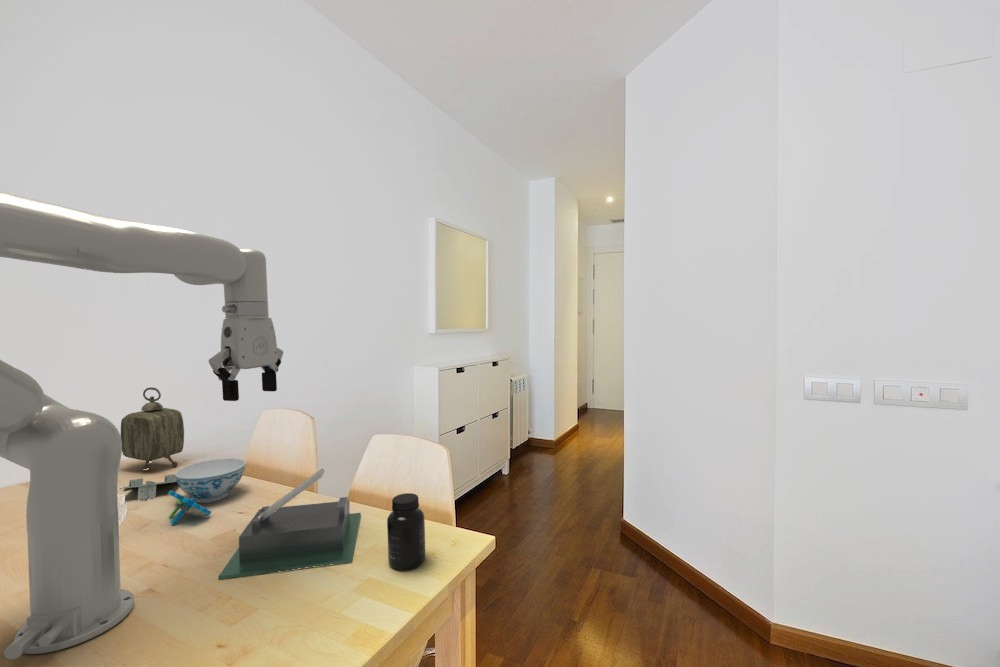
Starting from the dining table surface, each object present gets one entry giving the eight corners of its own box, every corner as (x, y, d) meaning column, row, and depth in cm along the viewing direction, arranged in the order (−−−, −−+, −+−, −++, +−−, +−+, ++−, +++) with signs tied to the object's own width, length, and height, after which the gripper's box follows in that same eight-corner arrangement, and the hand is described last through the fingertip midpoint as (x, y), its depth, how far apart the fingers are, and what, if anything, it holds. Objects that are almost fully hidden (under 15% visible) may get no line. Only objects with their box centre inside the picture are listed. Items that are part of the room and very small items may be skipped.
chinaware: (204, 513, 100) (204, 481, 100) (160, 505, 105) (159, 474, 104) (259, 489, 114) (259, 461, 114) (218, 483, 119) (218, 455, 119)
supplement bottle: (409, 547, 84) (409, 487, 84) (432, 559, 80) (432, 496, 80) (380, 562, 79) (379, 499, 79) (403, 576, 75) (402, 509, 74)
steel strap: (322, 477, 85) (318, 473, 85) (257, 525, 83) (254, 521, 83) (325, 471, 89) (322, 467, 89) (263, 517, 86) (260, 513, 86)
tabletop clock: (185, 465, 133) (182, 386, 133) (154, 476, 125) (152, 391, 124) (150, 461, 137) (148, 384, 137) (119, 471, 129) (116, 389, 128)
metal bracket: (182, 473, 111) (108, 482, 105) (181, 496, 110) (106, 507, 104) (194, 472, 124) (128, 480, 118) (193, 493, 123) (126, 502, 116)
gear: (219, 512, 97) (179, 490, 92) (199, 538, 94) (156, 516, 89) (204, 505, 104) (166, 484, 99) (185, 529, 101) (144, 509, 96)
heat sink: (351, 562, 79) (350, 522, 79) (218, 579, 74) (217, 537, 74) (360, 515, 99) (360, 483, 98) (255, 526, 94) (255, 492, 93)
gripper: (225, 311, 77) (230, 405, 78) (293, 311, 93) (297, 388, 94) (192, 312, 78) (197, 404, 79) (265, 311, 95) (268, 387, 96)
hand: (251, 395), depth 87 cm, fingers open, 9 cm apart
